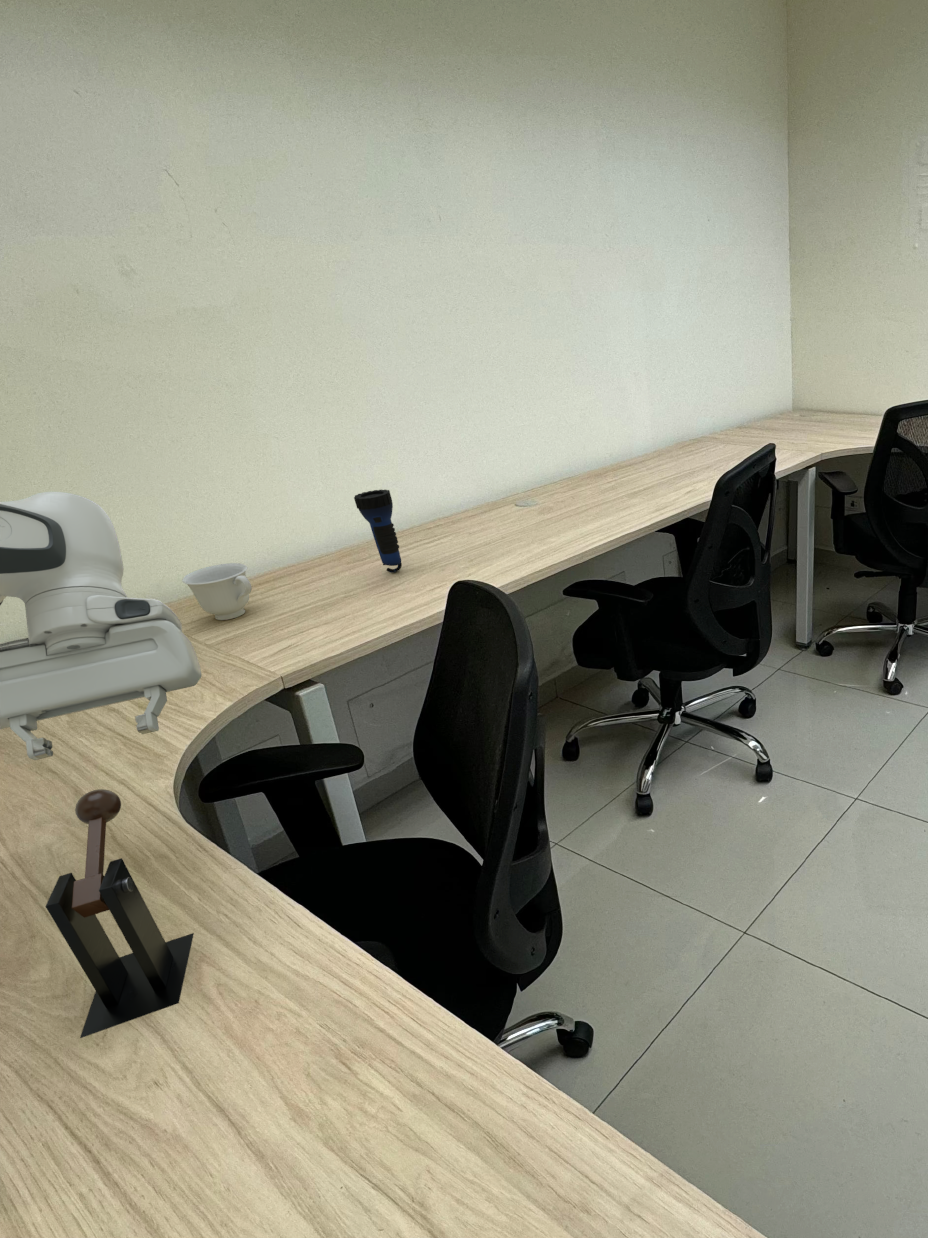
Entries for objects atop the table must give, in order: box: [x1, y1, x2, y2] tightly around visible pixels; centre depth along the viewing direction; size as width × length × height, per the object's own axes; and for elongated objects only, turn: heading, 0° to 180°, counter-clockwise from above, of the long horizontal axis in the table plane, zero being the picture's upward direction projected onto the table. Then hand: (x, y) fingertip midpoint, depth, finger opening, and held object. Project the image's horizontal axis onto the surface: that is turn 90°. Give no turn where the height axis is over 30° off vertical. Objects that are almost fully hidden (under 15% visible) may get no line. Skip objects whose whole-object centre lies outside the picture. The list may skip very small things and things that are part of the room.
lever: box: [72, 788, 122, 918], centre depth 76 cm, size 13×4×4 cm, turn 27°
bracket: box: [45, 857, 195, 1039], centre depth 75 cm, size 10×8×15 cm
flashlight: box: [353, 489, 403, 573], centre depth 183 cm, size 8×8×20 cm
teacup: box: [181, 562, 253, 621], centre depth 165 cm, size 12×15×10 cm
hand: (95, 744), depth 81 cm, fingers open, 8 cm apart
